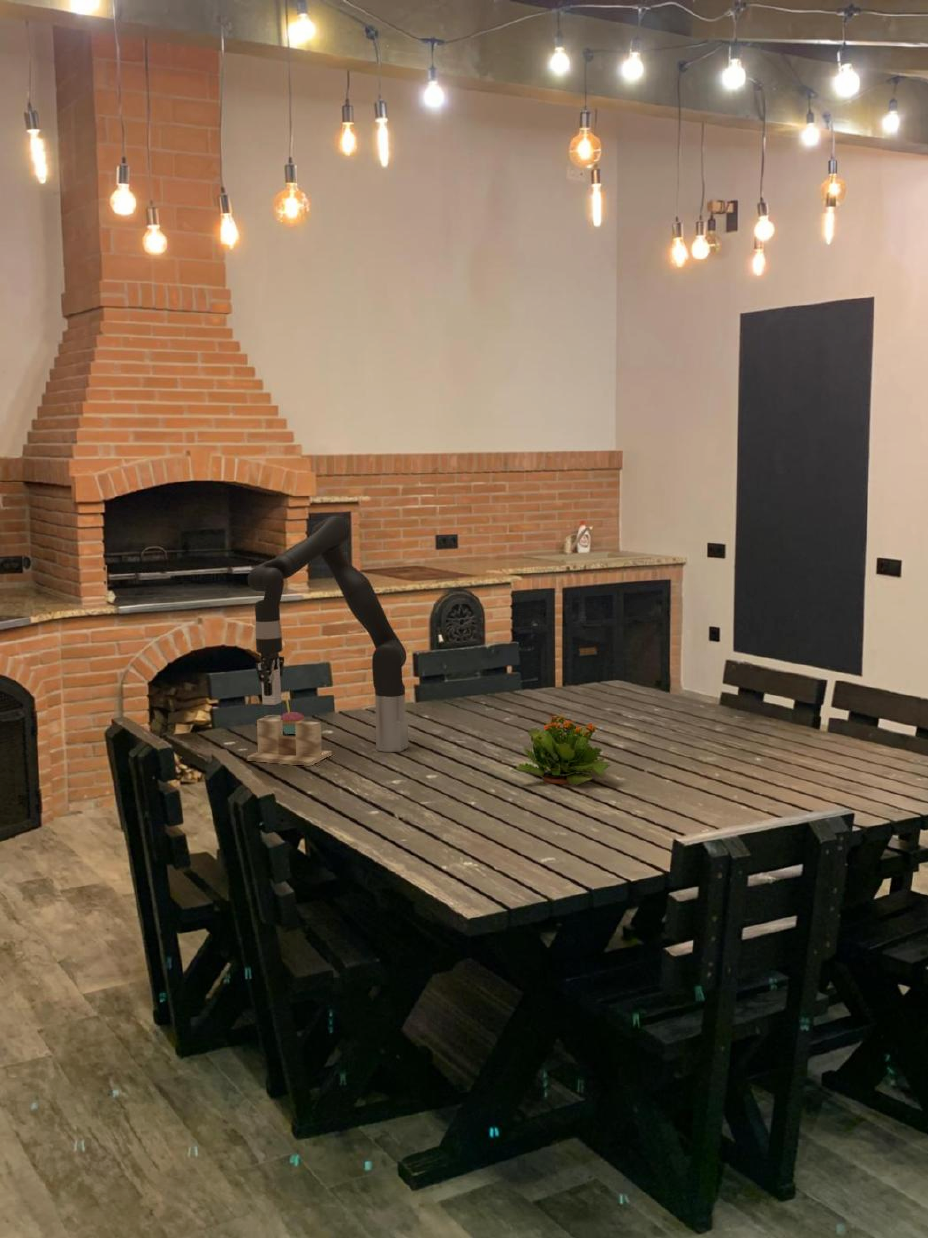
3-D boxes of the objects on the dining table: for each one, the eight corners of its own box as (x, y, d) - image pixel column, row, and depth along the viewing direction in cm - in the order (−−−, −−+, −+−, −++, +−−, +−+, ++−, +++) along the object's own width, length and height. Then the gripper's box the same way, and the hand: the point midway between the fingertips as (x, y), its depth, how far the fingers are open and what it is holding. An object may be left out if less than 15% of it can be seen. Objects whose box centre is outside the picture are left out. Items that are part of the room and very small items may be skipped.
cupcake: (274, 734, 405) (272, 698, 403) (289, 729, 412) (288, 694, 411) (295, 737, 401) (294, 700, 399) (310, 731, 408) (309, 696, 407)
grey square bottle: (281, 702, 362) (279, 658, 360) (275, 704, 358) (272, 660, 357) (269, 701, 363) (266, 658, 362) (262, 704, 359) (260, 660, 358)
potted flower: (527, 794, 330) (527, 730, 328) (501, 773, 353) (500, 712, 350) (614, 786, 337) (615, 723, 334) (583, 766, 359) (583, 707, 357)
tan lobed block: (331, 756, 375) (330, 718, 373) (310, 767, 362) (308, 728, 360) (270, 750, 382) (269, 714, 381) (247, 761, 369) (246, 723, 368)
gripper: (268, 639, 350) (272, 699, 353) (291, 632, 364) (294, 690, 366) (245, 639, 353) (248, 698, 355) (268, 632, 366) (271, 689, 368)
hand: (271, 693), depth 360 cm, fingers closed on grey square bottle, 4 cm apart
